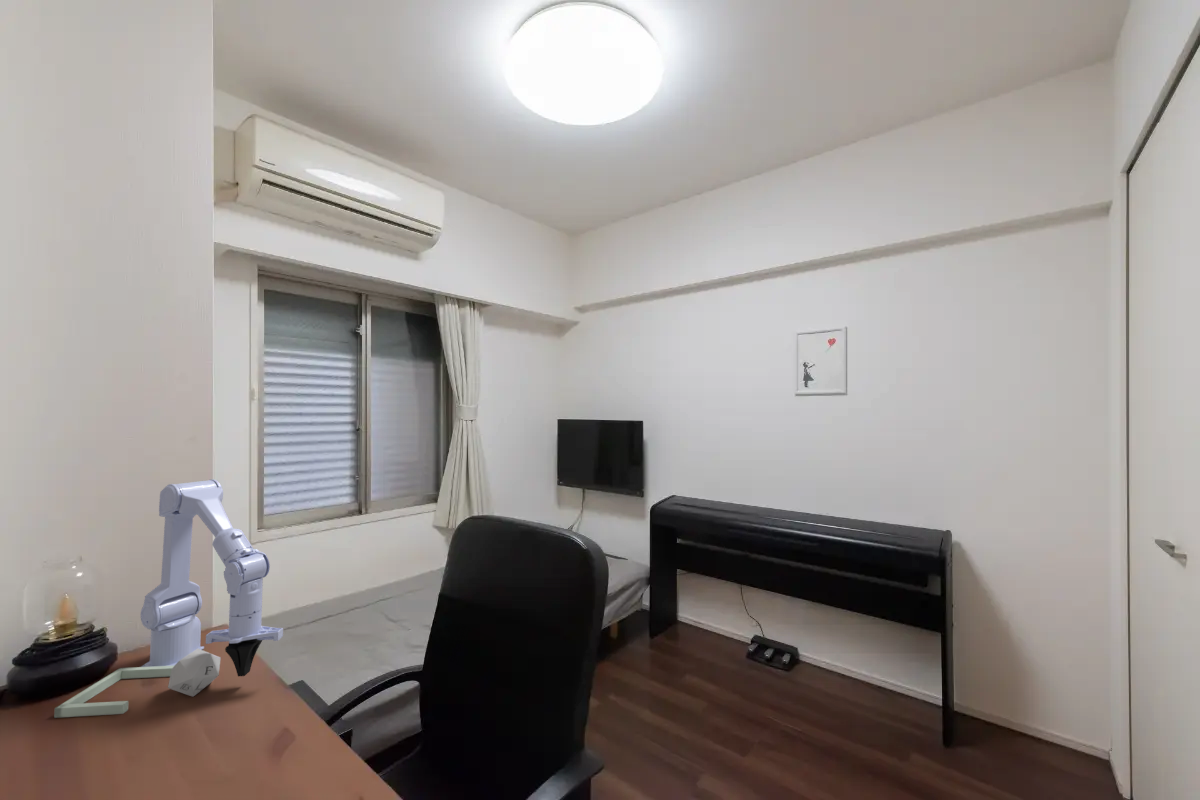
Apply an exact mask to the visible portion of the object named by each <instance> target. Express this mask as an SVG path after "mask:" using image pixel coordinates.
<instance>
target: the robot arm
mask: <svg viewBox="0 0 1200 800" xmlns="http://www.w3.org/2000/svg"><path fill="white" fill-rule="evenodd" d="M223 498H224V489H223V486H222V484H221V483H220V482H219V481H218V479H209V480H207V479H206V480H200V481H190V482H183V483H168V484H167V485H166V486H165V487H163V489H161V491H160V493H159V502H158V503H159V504H158V512H159V513H158V516H159V517H164V528H163V546H162V560H161V561H162V562H161V563H162V564H161V576H160V577H161V578H160V584H158V585H157V586H155V588H153V589H152V590H150V592H148V593H147V594H146V595H145V596H144V599H143V600H144V601H143V604H142V605H143V606H142V608H141V610H140V621H141V625H143V627H144V628H146V629H147V630H150V643H149V644H150V645H149V646H150V651H149V661H147V662H146V663H144V664H143V665H141V666H140V667H153V666H174V665H176V664H177V663H178V661H179V660H181V659H182V658H184V657H185V656H187V655H188V654H190V653H191V652H193V651H194V650H196V649H197V648H198V649H200V650H204V649H205V646H201V636H202V635H201V630H202V623H201V620H200V619H199V617H197V614H198V613H200V610H201V609H202V606H203V598H202V594H201V587H200V585H199V584H198V583H196V582H194V581H191V580H190V573H191V572H190V571H191V556H192V555H191V554H192V538H193V536H192V535H193V525H194V523H193V522H194V517H196V516H198V517H199V518H200V520H201V521H202V522H203V523H204V525H205V526H206V528H208V530H209V531H210V533H211V534H212V535H213V536H214V540H212V547H213V548H214V550H215V552H216V553H217V555H218V556H219V558H220V560H221V562H222V563H223V565H224V567H225V568H224V570H223V578H224V581H225V583H226V592H227V594H229V611H228V613H229V615H228V628H226V629H225V628H224V629H217V630H211V631H210V632H208V633H206V634H205V644H206V645H207V644H212V643H219V642H220V643H223V642H227V643H228V645H227V646H226V647H225V649H224V650H225V653H226V654H227V655H228V656H229V658H230V659H231V661H232V663H233V665H234V668H235V670H236V674H237V677H245V676H246V675H248V674H249V673H250V672H251V667H252V664H253V662H254V658H255V656H256V654H257V651H258V649H259V648H260V645H261V644H262V643H263V642H262V641H272V640H273V642H278V641H280V640H281V639H282V638H283V637H284V628H283V627H272V626H265V625H262V615H263V613H262V612H263V586H264V584H263V583H264V578H265V577H266V578H267V575H268V574H269V573H270V566H271V565H270V561H269V558H268V556H267V554H266V553H265V552H263V551H260V550H259V548H258V549H257V548H255V549H254V547H253V545H252V543H251V541H249V540H248V538H247V536H246V534H245V533H244V531H243V530H242V529H241V528H235V527H234V526H233V525H232V522H231V520H230V519H229V516H228V514H227V512H226V510H225V507H224V506H223V504H222V502H223Z"/></svg>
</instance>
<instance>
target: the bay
mask: <svg viewBox="0 0 1200 800" xmlns="http://www.w3.org/2000/svg"><path fill="white" fill-rule="evenodd" d="M174 666H175V665H174ZM174 666H153V667H141V666H139V667H137V666H136V667H119V668H118V669H116V670H114V671H113V672H112V673H110V674H108V675H107V676H105V677H103V678H101V679H100V680H99V681H97V682H94V683H93V684H92V685H90V686H88V687H87V688H85V689H83V690H82V691H81V692H79V693H77V694H76V695H74V696H72V697H71V698H69V699H67V700H66V701H64V702H62V703H61V704H60V705H57V706H56V707H54V715H53V717H54V718H55V719H56V718H57V719H58V718H73V717H74V718H75V717H89V716H91V717H92V716H107V715H109V716H110V715H123V714H125V713H126V712H127V711H129V700H118V701H117V700H116V701H103V702H102V701H101V702H100V701H99V702H87V701H89V700H91V699H92V698H93V697H95V696H97V695H98V694H100V693H102V692H103V691H105V690H106V689H108V688H109V687H111V686H113V685H114V684H115V683H116V684H117V682H119V681H120V680H126V679H141V678H142V679H143V678H145V679H146V678H164V677H165V678H166V677H170V675H171V671H172V668H173V667H174Z"/></svg>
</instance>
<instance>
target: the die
mask: <svg viewBox="0 0 1200 800" xmlns="http://www.w3.org/2000/svg"><path fill="white" fill-rule="evenodd" d="M221 658H222V657H221V656H218V655H215V654H213V653H210V652H208V651H205V650H204V649H202V650H200V649H198V648H197V649H196V650H194V651H193V652H191V653H190V654H188V655H187V656H185V657H184V658H182V659H181V660H179V661H178V663H177V664H176V665H175V666H174V667H173V668H172V671H171V675H170V676H169V680H168V686H167V688H168V689H169V690H173V691H176V692H178V693H181V694H184V695H187V696H190V697H192V698H193V697H194V696H196V695H197V694H199V693H200V692H201V691H203V689H205V688H206V687H208V686H209V685H210V684H211V683H213V681H215V680H216V679H217V678H218V677H219V675H220V666H221Z"/></svg>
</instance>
